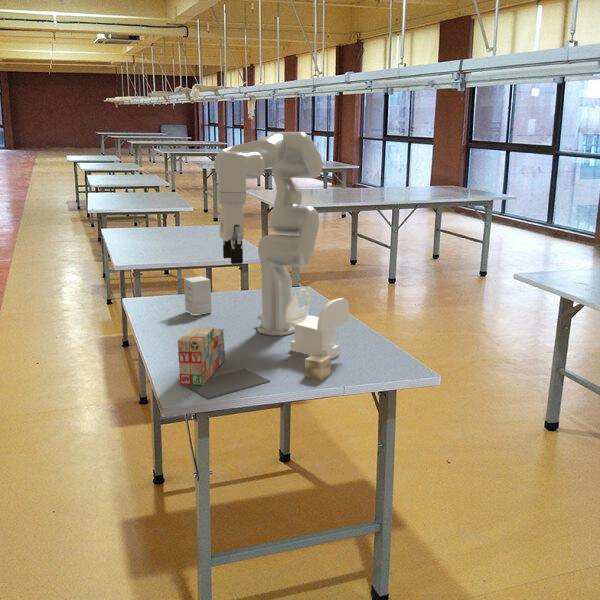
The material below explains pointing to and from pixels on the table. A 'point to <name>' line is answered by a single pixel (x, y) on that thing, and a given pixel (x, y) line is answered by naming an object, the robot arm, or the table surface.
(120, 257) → the table surface
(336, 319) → the white plastic bracket
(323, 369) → the beech block
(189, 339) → the stack of blocks
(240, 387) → the rubber mat
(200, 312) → the supplement box
